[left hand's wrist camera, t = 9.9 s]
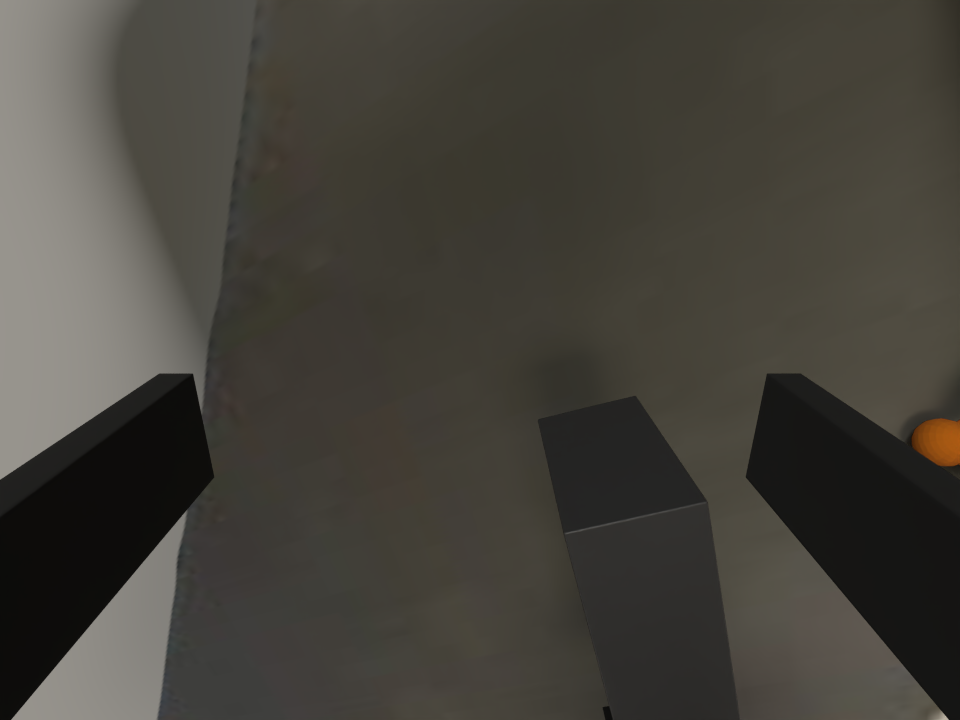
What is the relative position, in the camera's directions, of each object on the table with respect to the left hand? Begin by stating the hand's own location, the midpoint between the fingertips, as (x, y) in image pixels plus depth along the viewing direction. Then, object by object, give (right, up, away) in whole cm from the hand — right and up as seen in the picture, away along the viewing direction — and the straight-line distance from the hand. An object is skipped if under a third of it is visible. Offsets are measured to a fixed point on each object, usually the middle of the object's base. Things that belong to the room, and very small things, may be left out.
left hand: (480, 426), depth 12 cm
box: (+10, -14, +25) cm, 30 cm away
